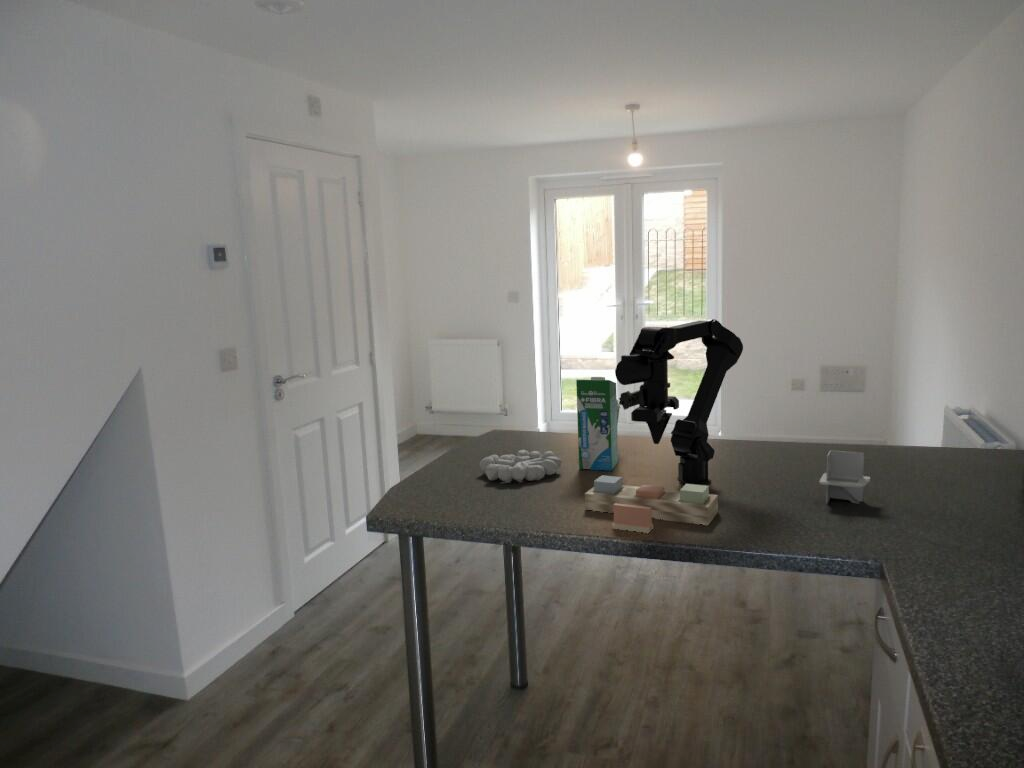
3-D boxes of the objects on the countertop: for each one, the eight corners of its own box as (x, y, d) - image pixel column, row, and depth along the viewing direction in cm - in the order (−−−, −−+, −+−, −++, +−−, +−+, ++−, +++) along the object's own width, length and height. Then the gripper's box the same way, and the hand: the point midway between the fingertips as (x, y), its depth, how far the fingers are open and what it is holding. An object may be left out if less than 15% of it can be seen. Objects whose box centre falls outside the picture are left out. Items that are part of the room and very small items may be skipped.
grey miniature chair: (892, 523, 157) (894, 469, 156) (788, 511, 168) (788, 460, 166) (898, 497, 173) (900, 448, 172) (803, 487, 184) (803, 441, 182)
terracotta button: (664, 499, 171) (664, 486, 171) (657, 506, 167) (657, 492, 167) (643, 497, 174) (643, 484, 173) (636, 503, 169) (635, 490, 169)
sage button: (708, 499, 166) (708, 485, 166) (703, 505, 162) (702, 492, 162) (686, 496, 169) (686, 483, 168) (680, 503, 164) (679, 490, 164)
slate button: (622, 489, 176) (622, 477, 175) (614, 496, 172) (614, 483, 171) (602, 487, 178) (601, 475, 178) (594, 493, 174) (593, 481, 173)
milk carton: (618, 462, 212) (616, 374, 208) (611, 471, 204) (609, 379, 200) (586, 461, 215) (584, 374, 211) (579, 469, 207) (576, 379, 203)
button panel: (717, 512, 168) (717, 494, 167) (707, 525, 160) (707, 507, 160) (599, 498, 181) (599, 482, 181) (585, 510, 173) (584, 493, 173)
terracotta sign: (653, 528, 160) (652, 506, 159) (648, 533, 157) (648, 510, 156) (617, 524, 164) (616, 501, 163) (612, 528, 161) (611, 506, 160)
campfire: (536, 490, 191) (535, 467, 190) (466, 481, 201) (465, 460, 200) (573, 469, 210) (573, 448, 209) (508, 462, 220) (507, 443, 219)
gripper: (636, 372, 192) (637, 433, 195) (609, 384, 176) (611, 450, 178) (679, 374, 187) (679, 436, 189) (655, 386, 171) (656, 454, 173)
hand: (656, 443), depth 183 cm, fingers closed
